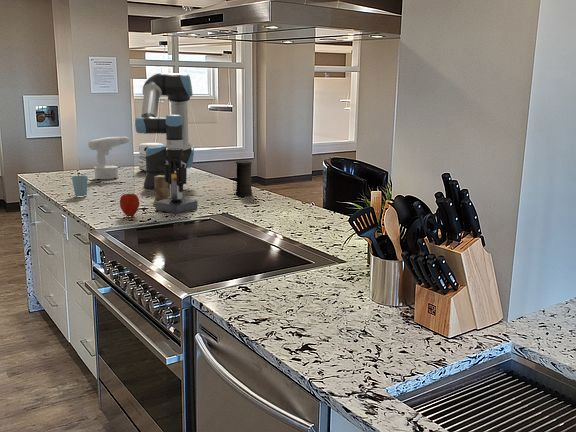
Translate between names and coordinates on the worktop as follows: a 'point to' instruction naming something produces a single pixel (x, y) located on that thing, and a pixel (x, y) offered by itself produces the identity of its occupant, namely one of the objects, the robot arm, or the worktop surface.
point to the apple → (129, 204)
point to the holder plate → (176, 205)
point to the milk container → (144, 154)
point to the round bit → (174, 187)
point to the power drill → (102, 150)
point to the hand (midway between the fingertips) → (176, 197)
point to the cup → (80, 185)
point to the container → (244, 178)
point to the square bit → (161, 188)
